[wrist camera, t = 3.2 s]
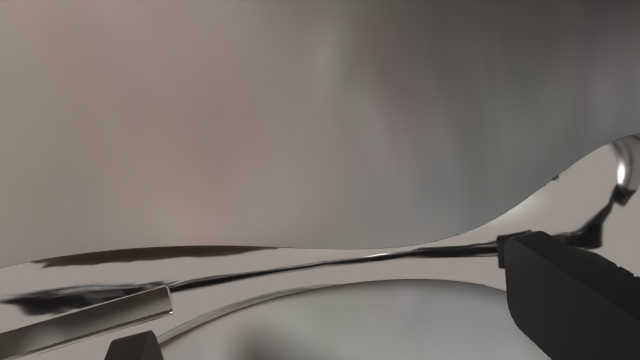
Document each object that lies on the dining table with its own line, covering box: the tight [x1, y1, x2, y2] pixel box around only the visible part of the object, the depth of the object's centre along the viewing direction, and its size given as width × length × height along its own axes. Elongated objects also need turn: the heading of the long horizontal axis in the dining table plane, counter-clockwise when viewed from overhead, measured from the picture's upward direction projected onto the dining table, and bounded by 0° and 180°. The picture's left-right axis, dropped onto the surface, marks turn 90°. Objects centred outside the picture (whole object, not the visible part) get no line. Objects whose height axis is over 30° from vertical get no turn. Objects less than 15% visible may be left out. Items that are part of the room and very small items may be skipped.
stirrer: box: [0, 133, 640, 360], centre depth 11 cm, size 20×4×5 cm
